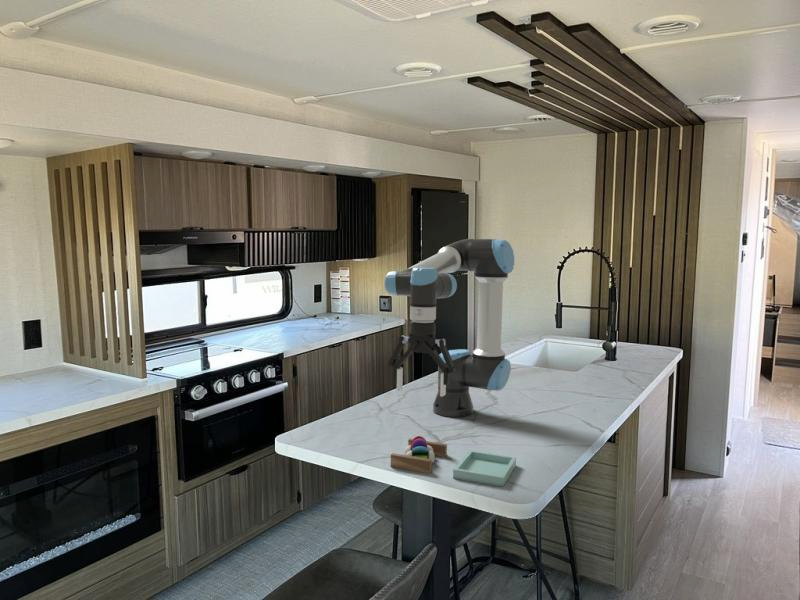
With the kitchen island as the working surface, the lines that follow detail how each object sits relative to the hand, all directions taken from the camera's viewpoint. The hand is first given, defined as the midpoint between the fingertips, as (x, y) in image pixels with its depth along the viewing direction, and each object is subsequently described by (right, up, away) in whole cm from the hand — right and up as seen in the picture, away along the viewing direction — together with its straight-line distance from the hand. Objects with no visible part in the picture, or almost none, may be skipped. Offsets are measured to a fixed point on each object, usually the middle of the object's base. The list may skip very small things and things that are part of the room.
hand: (420, 392), depth 177 cm
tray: (+18, -21, -6) cm, 29 cm away
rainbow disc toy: (0, -21, +1) cm, 21 cm away
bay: (0, -20, +1) cm, 20 cm away
